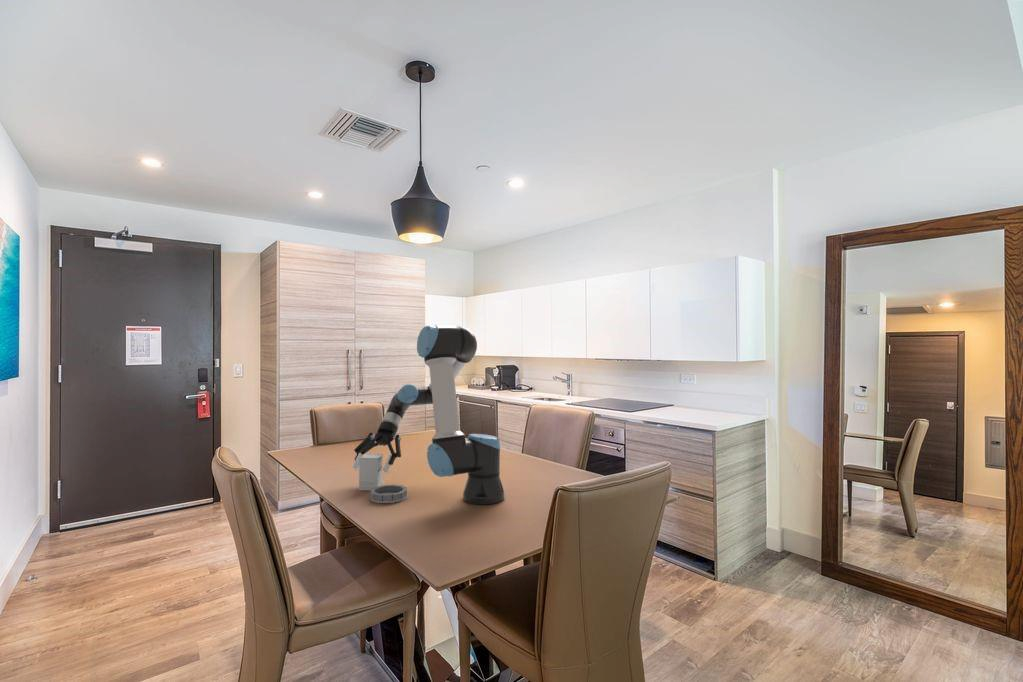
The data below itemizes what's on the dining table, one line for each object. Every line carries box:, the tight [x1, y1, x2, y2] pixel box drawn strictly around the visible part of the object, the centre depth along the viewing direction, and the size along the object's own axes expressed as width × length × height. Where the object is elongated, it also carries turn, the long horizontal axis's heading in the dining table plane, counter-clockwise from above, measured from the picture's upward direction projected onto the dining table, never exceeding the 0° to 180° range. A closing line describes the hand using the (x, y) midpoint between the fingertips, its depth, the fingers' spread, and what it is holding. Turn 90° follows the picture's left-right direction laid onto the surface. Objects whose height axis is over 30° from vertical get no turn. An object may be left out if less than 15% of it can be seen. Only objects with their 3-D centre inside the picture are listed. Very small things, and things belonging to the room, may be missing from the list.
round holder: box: [369, 484, 408, 504], centre depth 176 cm, size 13×13×3 cm
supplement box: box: [358, 453, 384, 491], centre depth 188 cm, size 7×7×13 cm
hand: (369, 470), depth 188 cm, fingers open, 13 cm apart
